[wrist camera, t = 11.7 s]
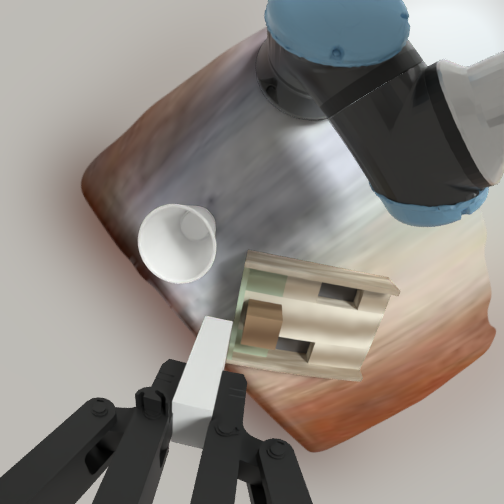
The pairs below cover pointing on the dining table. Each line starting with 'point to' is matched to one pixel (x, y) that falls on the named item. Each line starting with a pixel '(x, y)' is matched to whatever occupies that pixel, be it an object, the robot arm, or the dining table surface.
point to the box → (311, 316)
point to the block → (262, 324)
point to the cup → (178, 242)
